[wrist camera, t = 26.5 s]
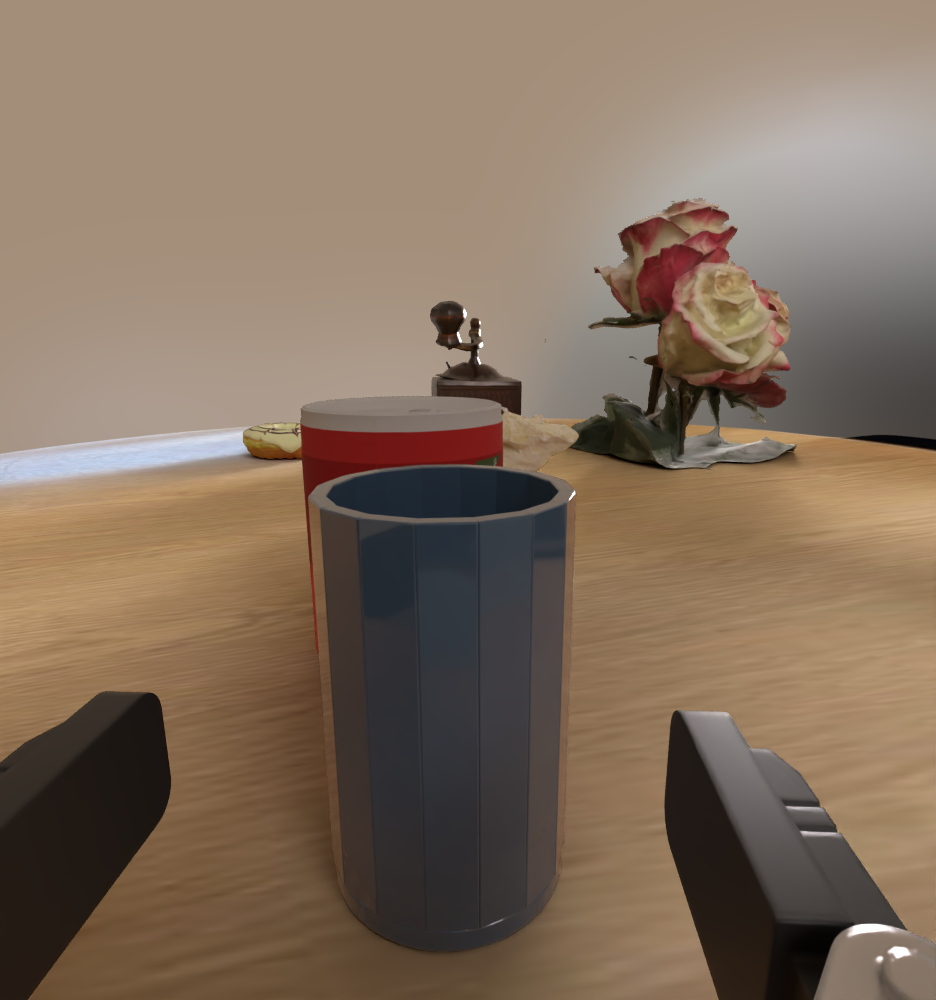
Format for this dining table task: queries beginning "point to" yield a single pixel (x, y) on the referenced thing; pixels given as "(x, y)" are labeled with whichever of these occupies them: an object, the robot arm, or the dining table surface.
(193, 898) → the dining table surface
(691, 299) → the rose bouquet
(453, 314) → the manual coffee grinder
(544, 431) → the cream rock
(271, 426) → the decorated donut
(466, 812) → the tumbler
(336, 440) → the canned food
